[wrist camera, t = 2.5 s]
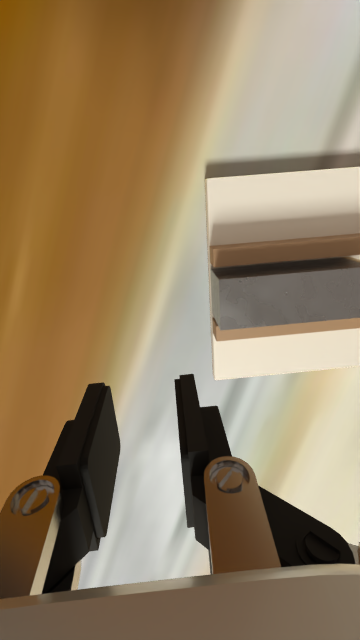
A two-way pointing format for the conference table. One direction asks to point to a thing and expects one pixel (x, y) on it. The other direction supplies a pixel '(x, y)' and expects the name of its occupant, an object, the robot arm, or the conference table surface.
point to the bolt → (286, 293)
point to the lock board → (279, 247)
